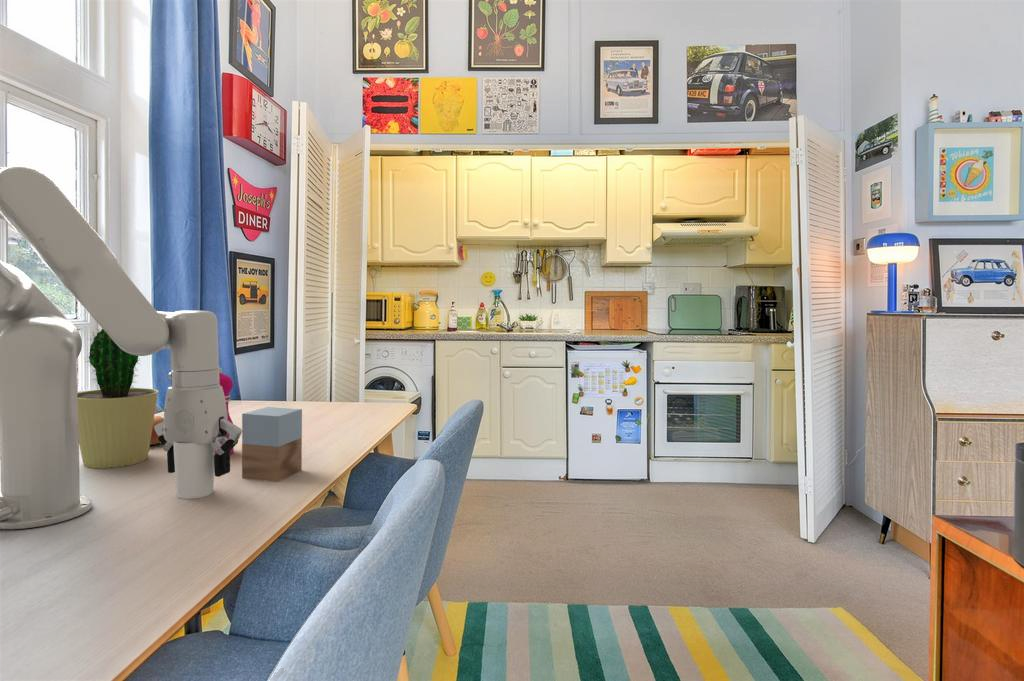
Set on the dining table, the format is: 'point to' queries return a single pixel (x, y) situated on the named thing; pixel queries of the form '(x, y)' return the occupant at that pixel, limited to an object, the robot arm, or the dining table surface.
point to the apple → (154, 435)
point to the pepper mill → (226, 394)
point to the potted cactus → (114, 409)
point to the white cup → (193, 470)
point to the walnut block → (271, 461)
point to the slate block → (271, 426)
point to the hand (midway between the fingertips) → (199, 472)
